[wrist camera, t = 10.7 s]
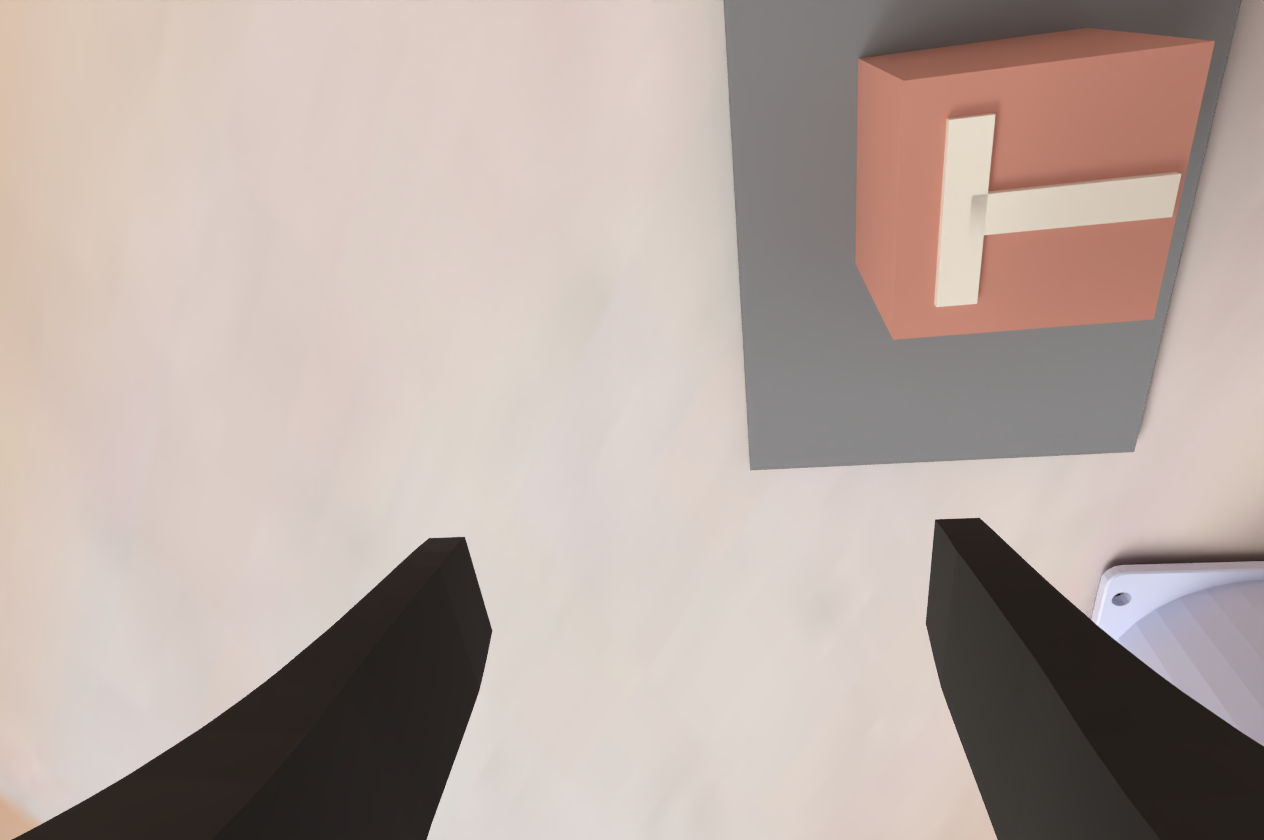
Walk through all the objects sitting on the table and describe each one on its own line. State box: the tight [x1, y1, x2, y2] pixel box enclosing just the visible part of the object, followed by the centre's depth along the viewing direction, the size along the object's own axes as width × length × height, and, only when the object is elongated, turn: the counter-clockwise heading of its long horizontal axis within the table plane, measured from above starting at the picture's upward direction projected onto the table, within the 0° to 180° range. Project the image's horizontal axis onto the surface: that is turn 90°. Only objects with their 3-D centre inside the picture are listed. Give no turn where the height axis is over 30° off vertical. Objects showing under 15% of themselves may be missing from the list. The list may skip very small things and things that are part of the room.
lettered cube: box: [855, 28, 1215, 340], centre depth 15 cm, size 4×4×5 cm
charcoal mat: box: [724, 0, 1241, 470], centre depth 17 cm, size 16×10×1 cm, turn 7°
